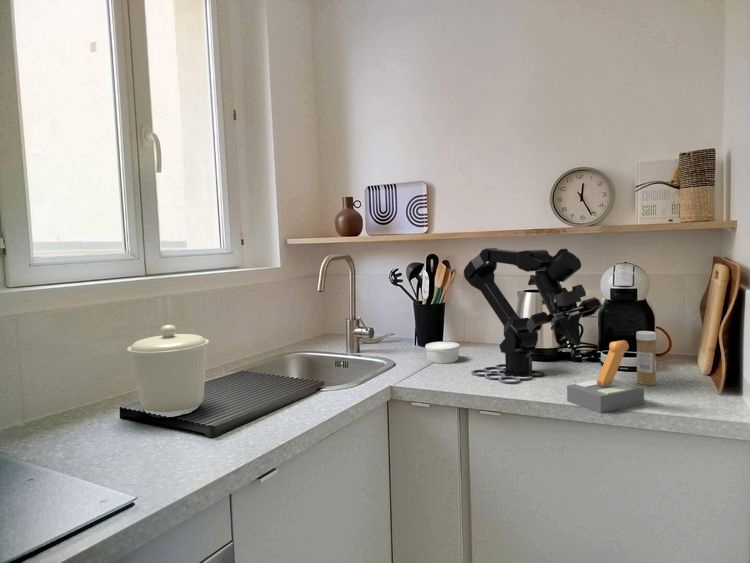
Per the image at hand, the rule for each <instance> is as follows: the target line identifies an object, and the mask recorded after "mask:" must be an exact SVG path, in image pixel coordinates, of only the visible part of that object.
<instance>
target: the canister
mask: <svg viewBox="0 0 750 563" xmlns="http://www.w3.org/2000/svg"><path fill="white" fill-rule="evenodd" d="M159 332H160V335H156V336H150V337H145V338H142V339H139V340H137V341H135V342H134V343H132V345H130V346H128V347H127V348H126V351H127V352H128V353H129V354H130V357H131V363H132V369H133V373H134V374H133V375H134V379H135V383H136V389H137V394H138V398H139V403H140V405H141V406H140V407H141V409H142V408H143V409H145V410H147V411H154V412H171V411H179V410H184V409H189V408H192V407H195V406H197V405H199V404H201V403H202V404H203V401H204V394H205V393H204V392H205V380H206V378H205V377H206V362H207V360H206V359H207V346H208V345H209V344H210V340H209V339H207V338H204V336H201V335H199V334H194V333H193V334H192V333H179V334H178V333H177V327H176V326H175V325H173V324H165V325H163V326H161V328H160V331H159ZM202 404H201V405H202ZM143 409H142V410H143Z"/></svg>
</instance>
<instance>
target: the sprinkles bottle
mask: <svg viewBox="0 0 750 563" xmlns="http://www.w3.org/2000/svg"><path fill="white" fill-rule="evenodd" d="M635 334H636V335H635V338H636V383H637V384H640V385H643V386H653V385H656V384H657V379H656V376H657V374H656V371H657V360H656V342H657V333H656V332H655V331H649V330H638V331H636V333H635Z"/></svg>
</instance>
